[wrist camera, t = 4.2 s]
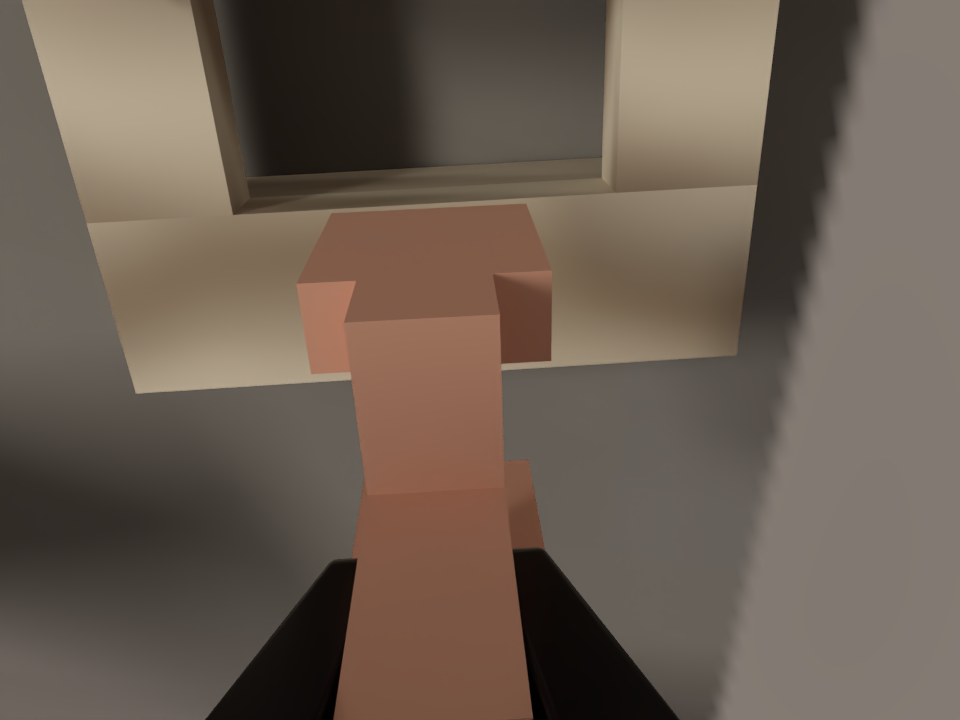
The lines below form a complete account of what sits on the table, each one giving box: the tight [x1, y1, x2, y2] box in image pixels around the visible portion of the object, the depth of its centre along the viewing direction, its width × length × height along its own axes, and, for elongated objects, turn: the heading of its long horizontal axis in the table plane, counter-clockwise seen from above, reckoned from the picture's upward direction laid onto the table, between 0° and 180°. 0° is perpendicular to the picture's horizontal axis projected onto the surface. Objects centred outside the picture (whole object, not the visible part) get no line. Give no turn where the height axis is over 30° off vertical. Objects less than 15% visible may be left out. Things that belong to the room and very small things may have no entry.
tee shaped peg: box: [296, 204, 552, 720], centre depth 9 cm, size 6×3×7 cm, turn 2°
